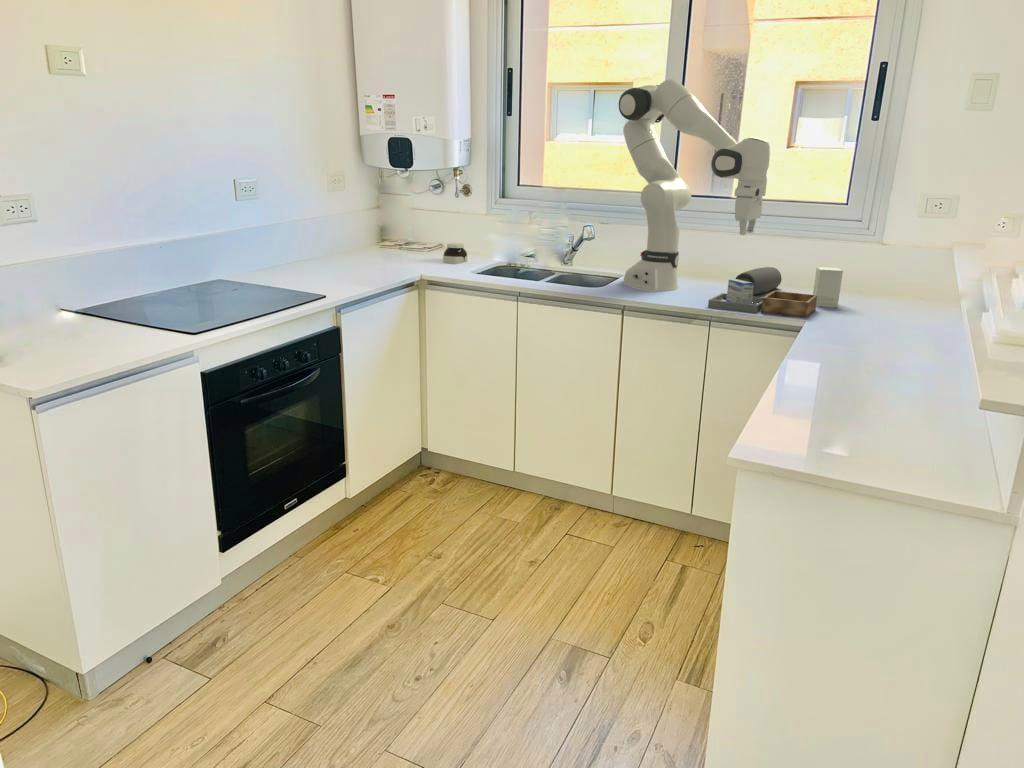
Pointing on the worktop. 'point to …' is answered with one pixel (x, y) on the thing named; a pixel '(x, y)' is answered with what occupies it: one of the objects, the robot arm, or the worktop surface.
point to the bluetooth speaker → (762, 279)
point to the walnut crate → (789, 304)
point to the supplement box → (827, 286)
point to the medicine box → (739, 291)
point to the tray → (735, 304)
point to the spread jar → (455, 254)
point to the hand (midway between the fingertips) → (746, 233)
